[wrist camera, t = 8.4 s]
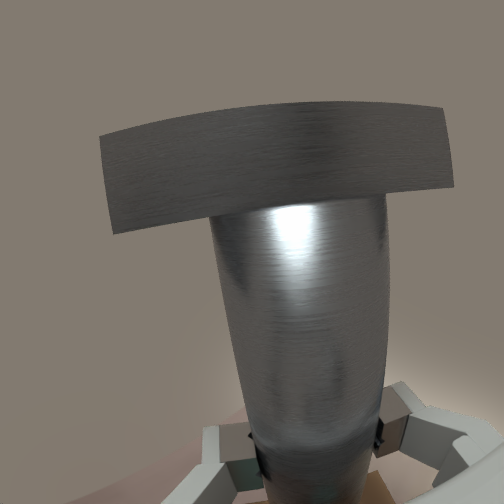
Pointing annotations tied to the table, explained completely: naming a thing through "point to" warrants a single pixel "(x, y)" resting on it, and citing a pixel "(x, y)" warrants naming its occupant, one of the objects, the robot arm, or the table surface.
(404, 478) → the table surface
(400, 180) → the gunmetal T-key
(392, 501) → the walnut key-slot block
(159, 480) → the table surface
